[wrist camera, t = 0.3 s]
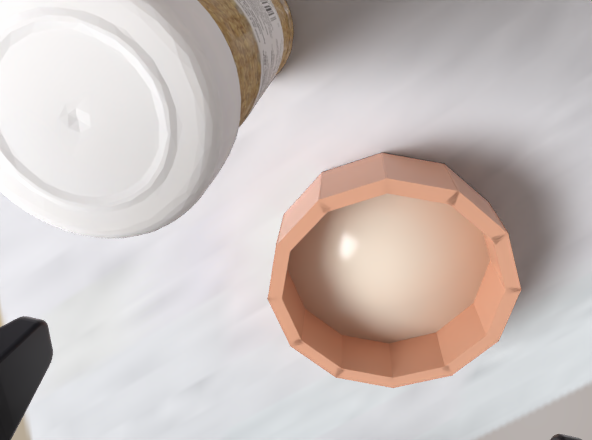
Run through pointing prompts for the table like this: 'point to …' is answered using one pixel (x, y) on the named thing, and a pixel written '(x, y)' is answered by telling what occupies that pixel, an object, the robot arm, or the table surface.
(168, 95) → the sprinkles bottle
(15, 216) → the table surface
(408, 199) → the terracotta bowl
